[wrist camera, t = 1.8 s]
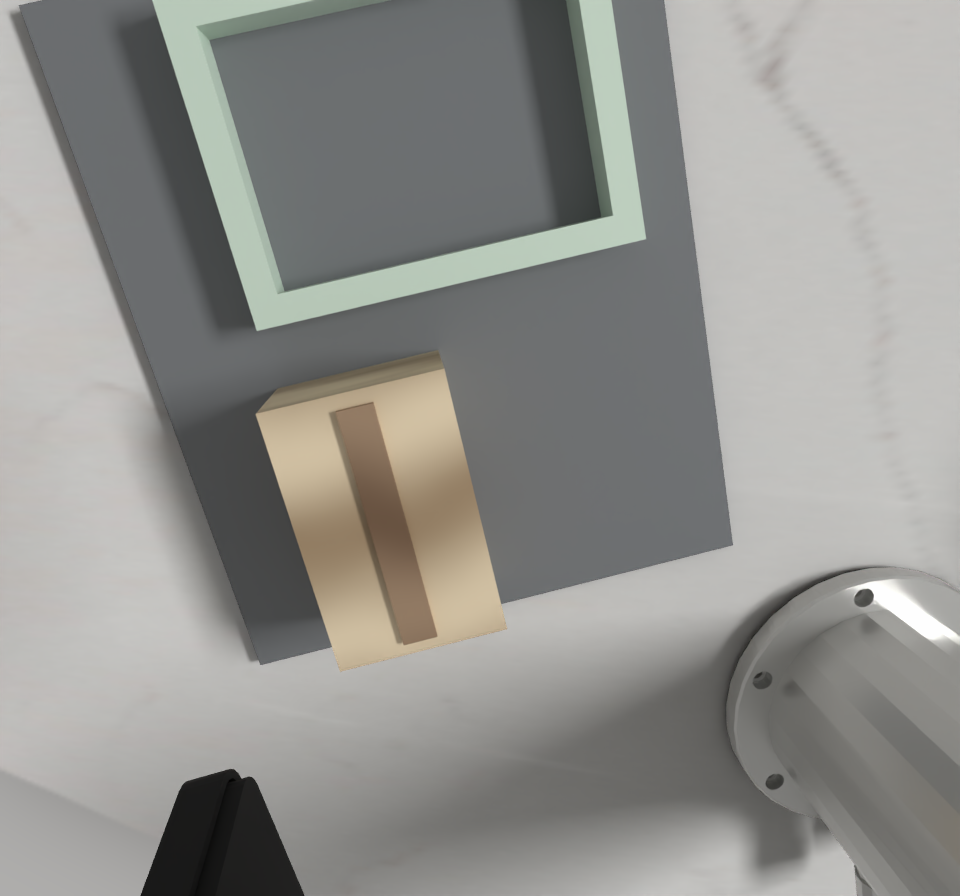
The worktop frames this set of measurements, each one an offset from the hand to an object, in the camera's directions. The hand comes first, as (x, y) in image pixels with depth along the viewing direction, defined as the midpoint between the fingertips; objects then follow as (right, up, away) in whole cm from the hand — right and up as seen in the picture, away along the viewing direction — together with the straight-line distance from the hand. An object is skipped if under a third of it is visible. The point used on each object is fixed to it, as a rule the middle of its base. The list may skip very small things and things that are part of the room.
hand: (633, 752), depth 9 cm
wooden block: (-5, +2, +18) cm, 19 cm away
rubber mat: (-4, +9, +17) cm, 19 cm away
